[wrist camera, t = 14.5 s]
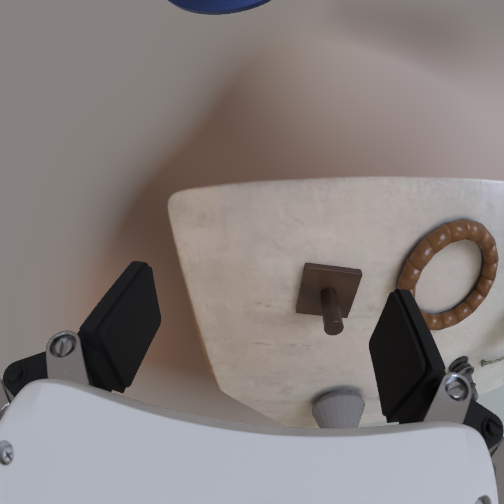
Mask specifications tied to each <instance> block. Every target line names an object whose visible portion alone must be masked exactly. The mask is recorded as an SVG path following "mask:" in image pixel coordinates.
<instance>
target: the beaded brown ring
mask: <svg viewBox="0 0 504 504" xmlns="http://www.w3.org/2000/svg"><path fill="white" fill-rule="evenodd" d="M464 239H465V240H470V241H474V242H476V243H477V244H478V246H479V247H480V248H481V249H482V253H483V258H484V263H483V270H482V275H481V277H480V279H479V281H478V283H477V285H476V287H475V289H474V290H473V291H472V292H471V294H470V295H469V296H468V297H467V298H466V300H465V301H463V302H462V303H461V304H459V305H458V306H456V307H455V308H453V309H452V310H449V311H446V312H443V313H440V314H429V313H425V312H424V311H422V310H421V309H420V311H421V313H422V315H423V317H424V319H425V321H426V324H427V326H428V328H429V330H441V329H444V328H447V327H450V326H453V325H456V324H458V323H459V322H461V321H462V320H463V319H465V318H466V317H468V316H469V315H471V314H472V313H473V312H474V311H475V310H476V309H477V307H478V306H479V305H480V304H481V303H482V302H483V300H484V299H485V298H486V296H487V294H488V292H489V290H490V288H491V286H492V284H493V282H494V280H495V277H496V271H497V266H498V253H497V248H496V243H495V239H494V238H493V236H492V235H491V234H490V233H489V231H488V230H487V229H486V228H485V227H484V226H483V225H482V224H480V223H476V222H473V221H470V220H466V219H462V220H458V221H454V222H449V223H445V224H442V225H441V226H439V227H438V228H437V229H435V230H434V231H433V232H431V233H430V234H428V235H427V236H426V237H424V238H423V239H422V240H421V241H420V243H419V244H418V245H417V247H416V248H415V249H414V250H413V252H412V253H411V254H410V256H409V257H408V258H407V260H406V262H405V265H404V267H403V270H402V273H401V275H400V278H399V281H398V285H397V286H398V289H406V290H410V291H411V293H412V295H413V297H414V299H415V286H416V284H417V282H418V279H419V277H420V274H421V272H422V270H423V269H424V267H425V266H426V265H427V264H428V262H429V261H430V260H431V259H432V257H433V256H434V255H435V254H436V253H437V252H439V251H440V250H442V249H443V248H444V247H446V246H447V245H448V244H450V243H453V242H457V241H460V240H464Z"/></svg>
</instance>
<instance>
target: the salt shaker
mask: <svg viewBox="0 0 504 504" xmlns="http://www.w3.org/2000/svg"><path fill="white" fill-rule="evenodd" d="M467 361H468V357H466V356H463V357H460V358H458V359H456V360H455V361H454V362H453V363H452V364H451V365H450V367H449V371H450V372H454V373H458V374H461V375H462V376H464V377H465V378H466V379H467V380H468V382H469V383H470V385H471V389H472V395H471V399H473V400H474V401H476V400H477V398H478V393H477V391H476V388H475V385H476V384H475V383H473V380H472V378H471V375H472V373H473V372H474V367H472V366H471V365H470V364H469V363H467Z"/></svg>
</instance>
